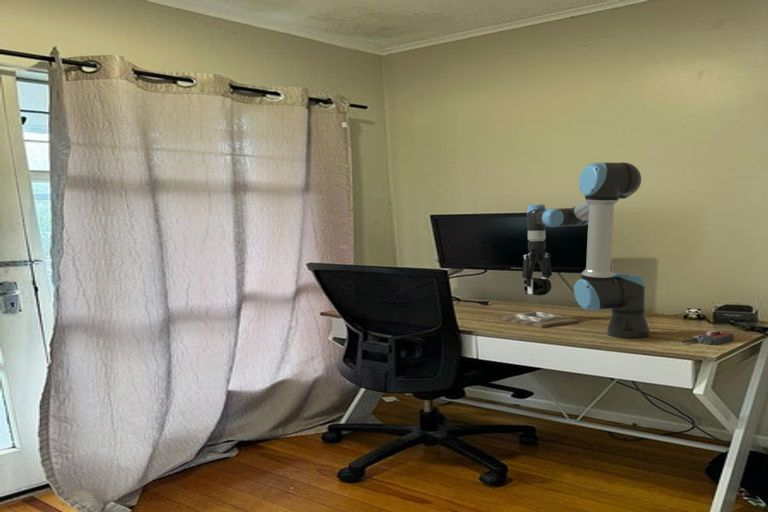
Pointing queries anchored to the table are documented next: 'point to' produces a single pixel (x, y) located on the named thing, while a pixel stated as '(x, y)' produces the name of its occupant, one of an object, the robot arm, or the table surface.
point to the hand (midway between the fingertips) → (537, 293)
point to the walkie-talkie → (712, 338)
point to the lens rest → (539, 319)
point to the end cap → (539, 286)
